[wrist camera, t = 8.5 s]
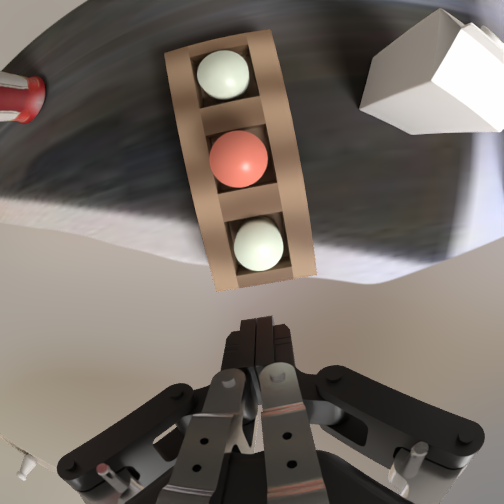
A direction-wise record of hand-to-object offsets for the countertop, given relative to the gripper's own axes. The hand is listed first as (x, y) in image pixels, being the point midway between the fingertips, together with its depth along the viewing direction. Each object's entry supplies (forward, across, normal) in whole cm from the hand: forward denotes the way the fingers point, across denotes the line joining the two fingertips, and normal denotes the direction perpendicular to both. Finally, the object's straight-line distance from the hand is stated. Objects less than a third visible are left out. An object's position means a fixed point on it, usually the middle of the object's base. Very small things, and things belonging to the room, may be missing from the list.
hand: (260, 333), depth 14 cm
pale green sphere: (+16, 0, -16) cm, 23 cm away
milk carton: (+19, -18, -13) cm, 29 cm away
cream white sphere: (+16, 0, 0) cm, 16 cm away
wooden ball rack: (+19, 0, -8) cm, 21 cm away
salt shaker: (+19, +104, +70) cm, 126 cm away
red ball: (+14, 0, -8) cm, 16 cm away
